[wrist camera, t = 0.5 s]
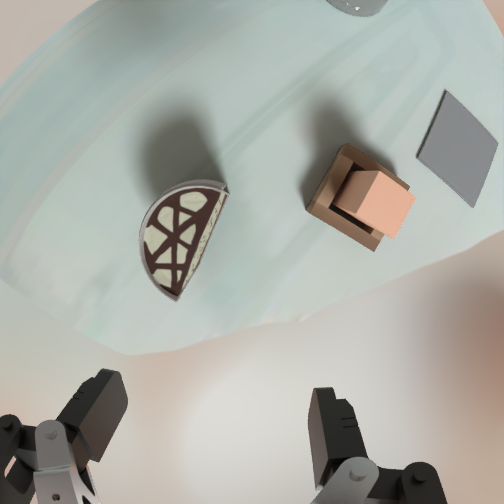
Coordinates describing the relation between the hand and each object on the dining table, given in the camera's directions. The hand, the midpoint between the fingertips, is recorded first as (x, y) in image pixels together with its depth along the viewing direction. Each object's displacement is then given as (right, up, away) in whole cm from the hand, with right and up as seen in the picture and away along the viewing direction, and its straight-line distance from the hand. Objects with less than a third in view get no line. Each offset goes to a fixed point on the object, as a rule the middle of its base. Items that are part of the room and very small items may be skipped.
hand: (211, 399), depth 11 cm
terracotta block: (+14, +13, +23) cm, 30 cm away
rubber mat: (+31, +20, +21) cm, 42 cm away
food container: (-6, +10, +25) cm, 27 cm away
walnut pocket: (+14, +13, +23) cm, 30 cm away
